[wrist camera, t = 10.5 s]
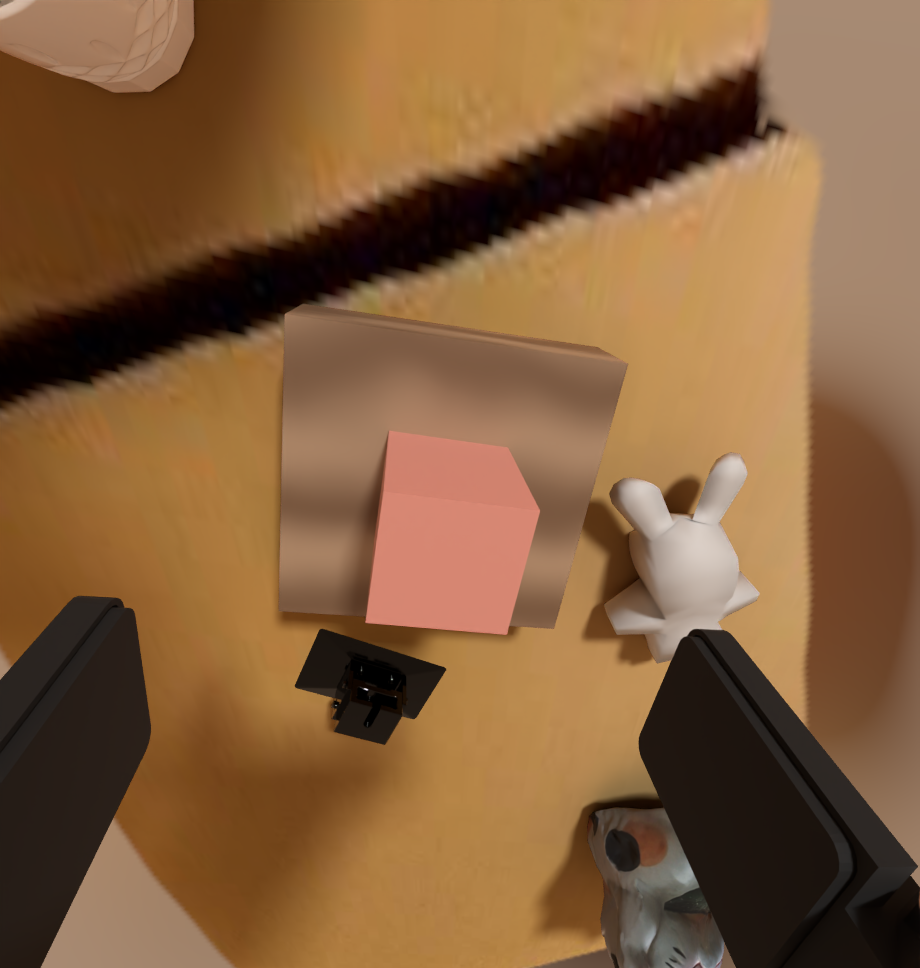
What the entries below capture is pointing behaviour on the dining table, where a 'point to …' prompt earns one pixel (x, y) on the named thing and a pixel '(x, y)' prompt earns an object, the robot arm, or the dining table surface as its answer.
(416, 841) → the dining table surface
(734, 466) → the bunny figurine
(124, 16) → the white cup
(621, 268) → the dining table surface
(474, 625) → the red block
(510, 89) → the dining table surface
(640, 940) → the lucky cat figurine
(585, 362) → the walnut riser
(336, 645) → the black boxy gadget
